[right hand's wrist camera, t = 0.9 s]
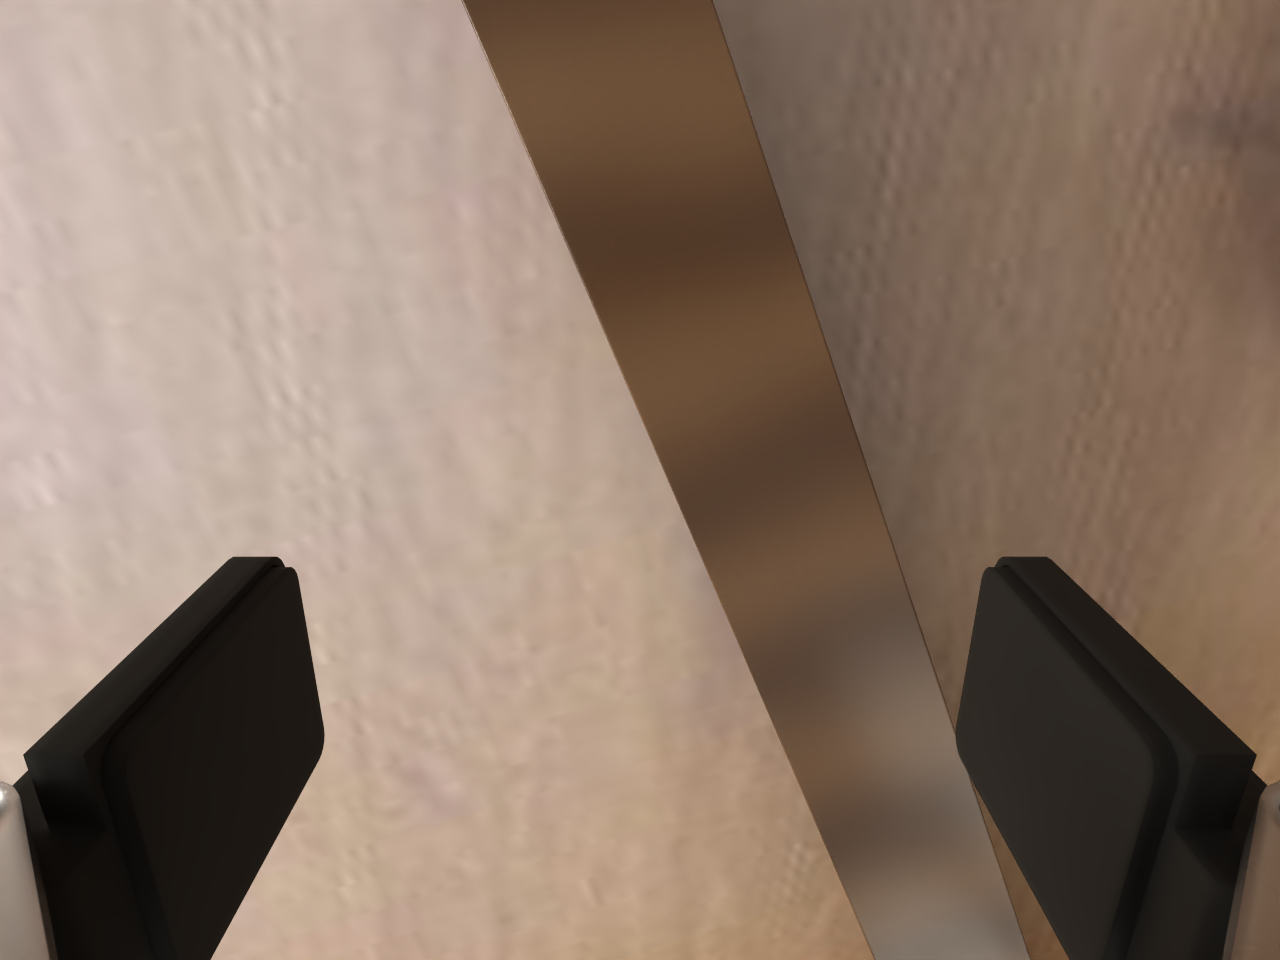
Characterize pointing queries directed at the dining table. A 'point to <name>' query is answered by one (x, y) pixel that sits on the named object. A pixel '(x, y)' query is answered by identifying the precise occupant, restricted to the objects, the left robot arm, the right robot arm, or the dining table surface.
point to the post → (755, 442)
